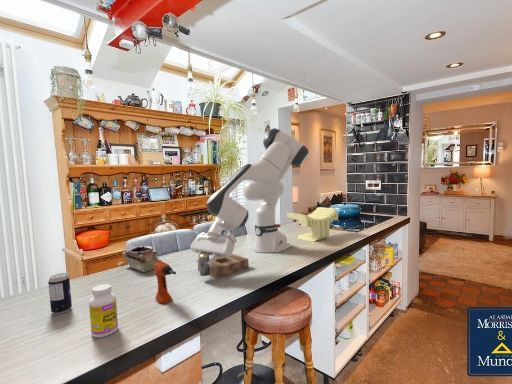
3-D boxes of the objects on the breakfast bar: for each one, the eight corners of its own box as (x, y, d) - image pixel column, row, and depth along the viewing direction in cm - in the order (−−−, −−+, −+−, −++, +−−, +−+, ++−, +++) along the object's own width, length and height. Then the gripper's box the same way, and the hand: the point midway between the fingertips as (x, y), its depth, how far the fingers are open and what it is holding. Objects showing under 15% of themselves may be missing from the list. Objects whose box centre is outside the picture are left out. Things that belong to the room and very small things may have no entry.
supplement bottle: (103, 340, 74) (99, 293, 74) (85, 336, 77) (81, 290, 76) (123, 327, 81) (120, 284, 80) (106, 323, 83) (103, 281, 82)
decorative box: (131, 277, 121) (129, 255, 121) (115, 268, 136) (114, 248, 135) (160, 269, 131) (158, 249, 130) (142, 261, 145) (141, 242, 144)
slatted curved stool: (307, 245, 161) (306, 214, 160) (288, 240, 174) (286, 212, 173) (338, 236, 180) (337, 208, 179) (318, 232, 193) (318, 207, 191)
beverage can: (74, 310, 93) (71, 274, 92) (53, 317, 89) (50, 280, 88) (69, 305, 97) (66, 271, 96) (49, 311, 92) (45, 276, 92)
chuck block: (230, 261, 138) (229, 253, 138) (248, 267, 128) (248, 258, 127) (198, 270, 126) (197, 262, 126) (215, 278, 116) (215, 269, 115)
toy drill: (172, 313, 85) (166, 265, 85) (153, 300, 99) (149, 260, 100) (186, 308, 88) (181, 262, 88) (166, 296, 102) (162, 257, 102)
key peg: (206, 271, 117) (205, 252, 116) (211, 274, 114) (210, 254, 113) (198, 274, 114) (197, 255, 113) (203, 276, 111) (202, 257, 110)
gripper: (196, 228, 124) (180, 256, 116) (233, 232, 113) (218, 263, 106) (203, 236, 128) (189, 263, 121) (240, 240, 117) (226, 271, 110)
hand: (203, 263), depth 113 cm, fingers closed on key peg, 4 cm apart
